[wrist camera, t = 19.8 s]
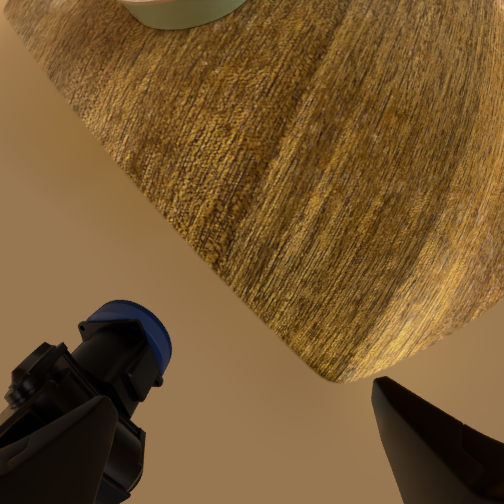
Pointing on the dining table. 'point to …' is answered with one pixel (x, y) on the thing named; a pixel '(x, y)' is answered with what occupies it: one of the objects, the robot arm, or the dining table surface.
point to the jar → (179, 12)
